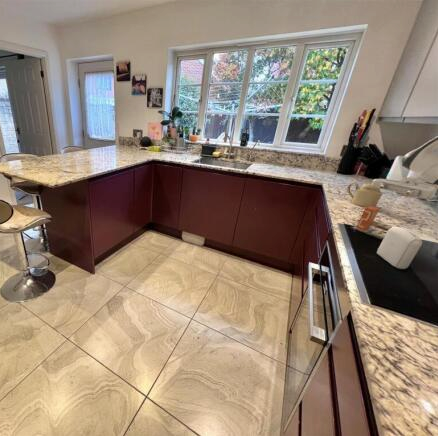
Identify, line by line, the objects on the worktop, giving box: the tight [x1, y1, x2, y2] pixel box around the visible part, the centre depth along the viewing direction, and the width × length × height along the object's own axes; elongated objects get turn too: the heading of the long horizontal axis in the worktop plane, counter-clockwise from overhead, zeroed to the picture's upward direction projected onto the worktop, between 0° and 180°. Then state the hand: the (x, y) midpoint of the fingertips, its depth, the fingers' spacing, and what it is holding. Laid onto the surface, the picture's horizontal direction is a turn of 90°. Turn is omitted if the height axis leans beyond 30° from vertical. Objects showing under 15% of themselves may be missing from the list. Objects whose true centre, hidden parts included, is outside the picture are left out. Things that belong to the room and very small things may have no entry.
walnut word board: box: [356, 219, 393, 232], centre depth 106 cm, size 18×8×2 cm, turn 26°
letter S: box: [355, 206, 380, 231], centre depth 102 cm, size 3×5×10 cm, turn 115°
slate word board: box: [350, 224, 387, 241], centre depth 99 cm, size 18×8×2 cm, turn 26°
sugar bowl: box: [347, 179, 383, 208], centre depth 134 cm, size 15×11×15 cm
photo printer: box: [376, 226, 423, 270], centre depth 80 cm, size 10×4×12 cm, turn 169°
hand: (394, 189), depth 101 cm, fingers open, 8 cm apart
